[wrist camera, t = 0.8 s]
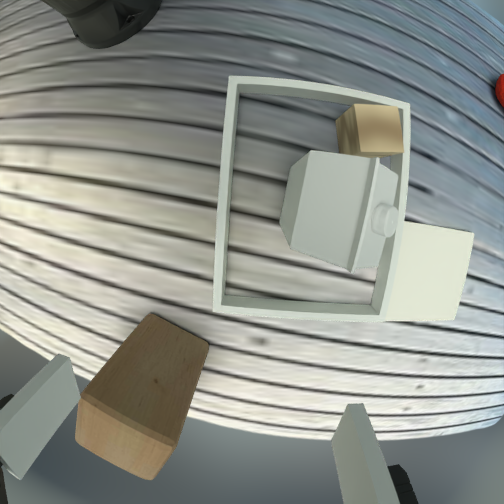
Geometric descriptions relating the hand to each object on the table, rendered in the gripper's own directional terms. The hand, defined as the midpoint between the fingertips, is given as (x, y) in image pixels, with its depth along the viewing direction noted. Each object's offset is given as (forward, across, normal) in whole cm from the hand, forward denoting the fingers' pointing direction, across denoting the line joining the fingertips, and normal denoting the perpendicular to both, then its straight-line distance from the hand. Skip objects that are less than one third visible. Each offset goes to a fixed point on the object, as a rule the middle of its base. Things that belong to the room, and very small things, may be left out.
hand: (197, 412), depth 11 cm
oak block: (+26, +12, +17) cm, 34 cm away
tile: (+26, +27, +1) cm, 37 cm away
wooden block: (+26, -9, -15) cm, 31 cm away
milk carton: (+26, +8, +9) cm, 29 cm away
